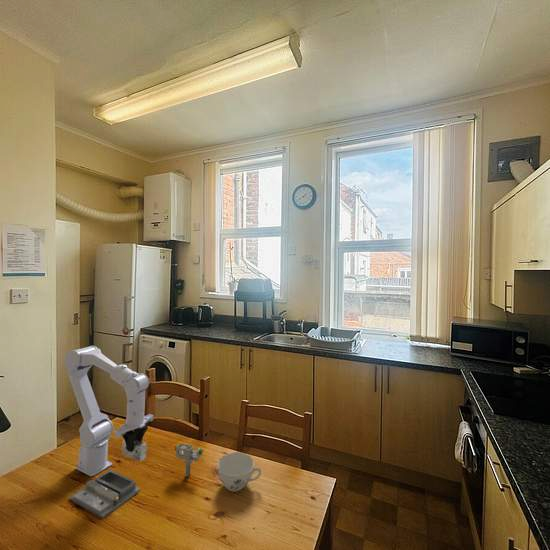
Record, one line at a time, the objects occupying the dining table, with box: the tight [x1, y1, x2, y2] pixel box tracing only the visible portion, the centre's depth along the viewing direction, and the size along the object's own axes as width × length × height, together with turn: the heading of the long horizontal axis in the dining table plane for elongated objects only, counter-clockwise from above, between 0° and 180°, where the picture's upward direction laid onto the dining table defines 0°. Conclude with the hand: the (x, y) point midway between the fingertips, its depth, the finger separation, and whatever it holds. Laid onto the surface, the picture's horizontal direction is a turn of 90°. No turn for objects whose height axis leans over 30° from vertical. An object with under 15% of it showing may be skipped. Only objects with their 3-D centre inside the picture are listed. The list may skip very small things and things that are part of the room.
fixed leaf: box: [68, 469, 141, 520], centre depth 94 cm, size 16×13×3 cm
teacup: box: [216, 451, 262, 493], centre depth 101 cm, size 15×12×8 cm
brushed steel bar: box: [121, 439, 148, 462], centre depth 104 cm, size 9×2×5 cm, turn 65°
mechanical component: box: [174, 443, 204, 478], centre depth 105 cm, size 3×10×10 cm, turn 78°
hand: (133, 448), depth 104 cm, fingers closed on brushed steel bar, 2 cm apart
